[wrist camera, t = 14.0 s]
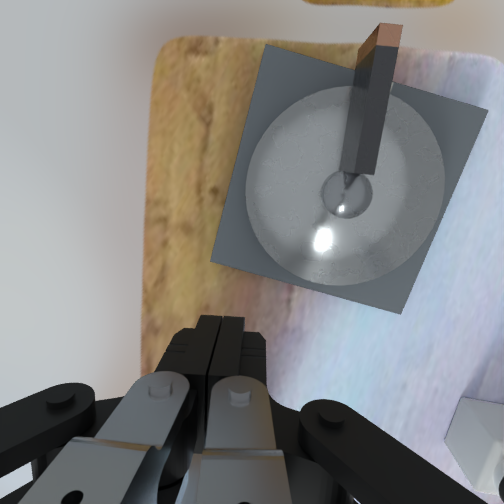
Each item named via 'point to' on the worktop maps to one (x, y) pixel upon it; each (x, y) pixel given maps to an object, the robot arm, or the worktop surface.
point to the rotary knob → (347, 176)
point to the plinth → (282, 97)
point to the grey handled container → (479, 444)
